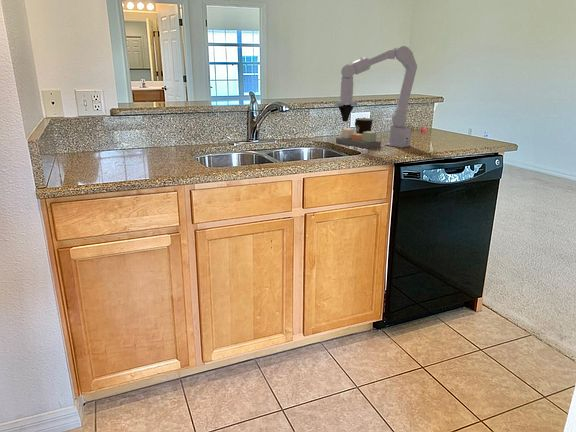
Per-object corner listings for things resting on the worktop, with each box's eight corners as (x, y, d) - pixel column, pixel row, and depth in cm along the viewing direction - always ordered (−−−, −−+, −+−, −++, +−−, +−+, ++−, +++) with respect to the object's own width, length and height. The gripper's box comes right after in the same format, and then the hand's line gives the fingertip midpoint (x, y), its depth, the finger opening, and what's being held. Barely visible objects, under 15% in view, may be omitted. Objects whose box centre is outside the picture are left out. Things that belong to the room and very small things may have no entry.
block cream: (354, 137, 214) (354, 129, 213) (348, 138, 212) (348, 129, 210) (347, 136, 218) (347, 128, 216) (341, 137, 215) (341, 128, 213)
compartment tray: (380, 146, 207) (380, 141, 206) (368, 148, 201) (368, 143, 200) (347, 140, 221) (348, 136, 220) (335, 142, 215) (336, 137, 214)
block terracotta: (364, 143, 211) (364, 134, 209) (358, 144, 208) (359, 135, 206) (357, 142, 214) (357, 133, 212) (351, 143, 211) (351, 134, 209)
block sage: (375, 141, 205) (376, 132, 204) (369, 142, 203) (370, 133, 201) (368, 140, 208) (368, 131, 207) (362, 141, 206) (362, 132, 204)
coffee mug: (372, 140, 223) (374, 120, 219) (355, 140, 223) (356, 120, 219) (369, 136, 233) (370, 117, 230) (352, 136, 234) (353, 117, 230)
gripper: (350, 90, 214) (348, 119, 218) (329, 91, 205) (328, 121, 209) (361, 91, 209) (359, 120, 213) (341, 92, 200) (339, 123, 204)
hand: (345, 121), depth 211 cm, fingers closed
